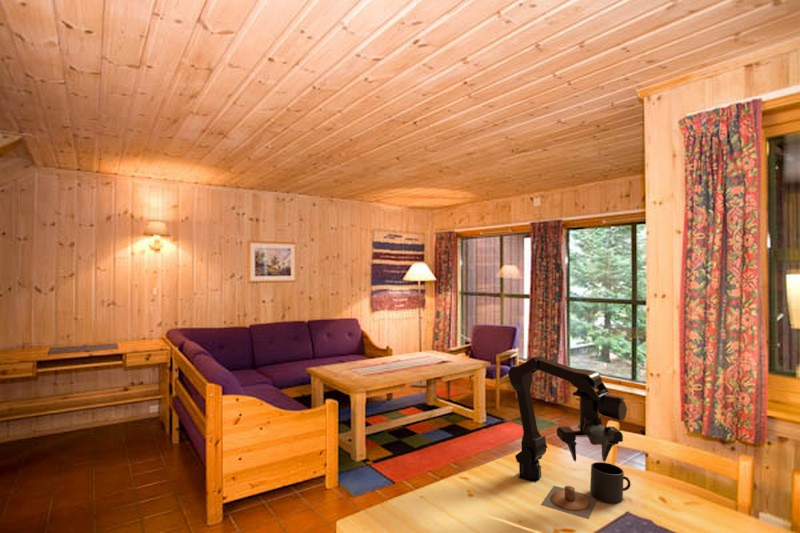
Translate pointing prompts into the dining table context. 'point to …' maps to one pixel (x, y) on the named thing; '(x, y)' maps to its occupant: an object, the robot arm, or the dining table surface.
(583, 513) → the mat
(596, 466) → the mug
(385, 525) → the dining table surface
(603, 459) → the robot arm
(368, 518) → the dining table surface
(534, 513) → the dining table surface
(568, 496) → the lid
